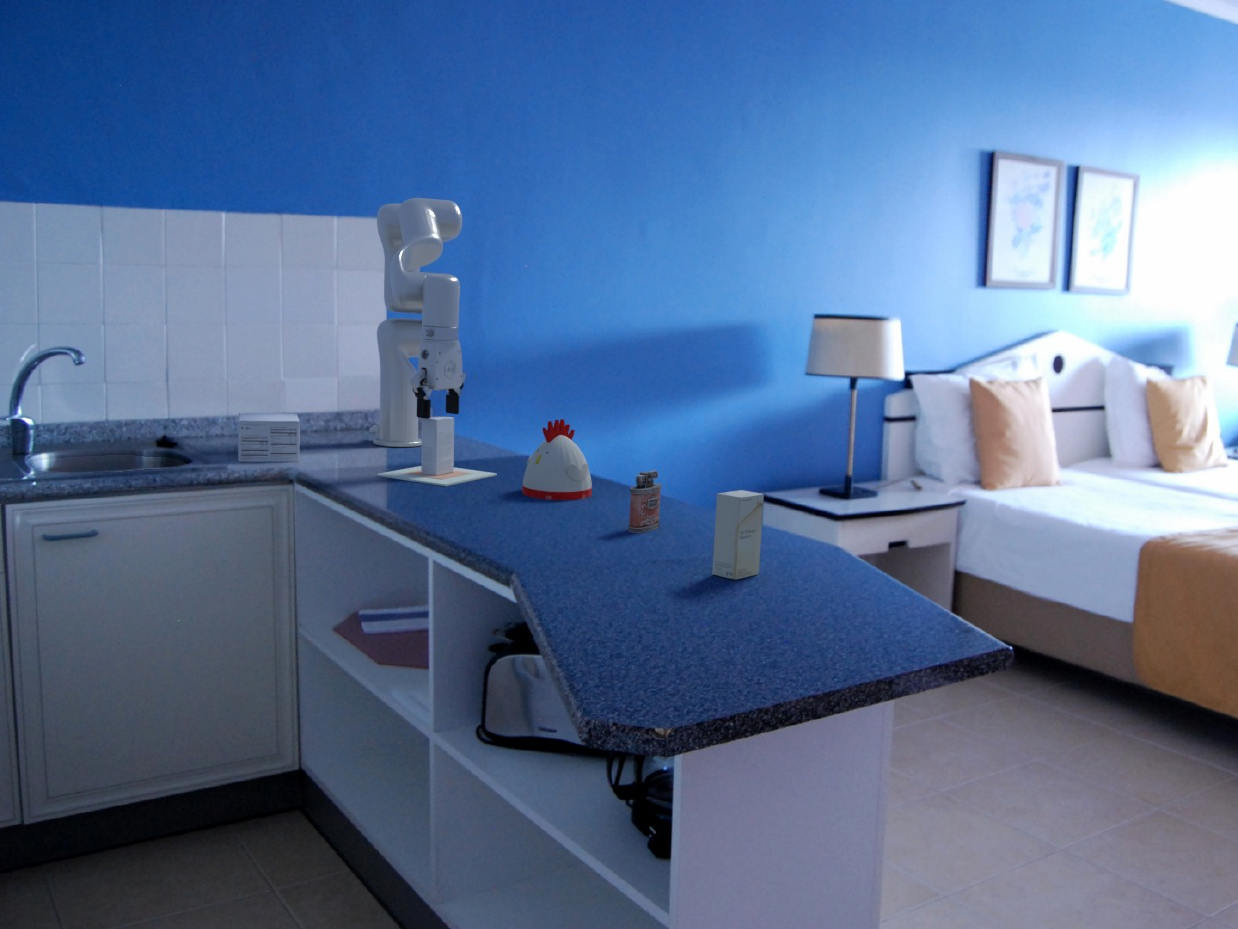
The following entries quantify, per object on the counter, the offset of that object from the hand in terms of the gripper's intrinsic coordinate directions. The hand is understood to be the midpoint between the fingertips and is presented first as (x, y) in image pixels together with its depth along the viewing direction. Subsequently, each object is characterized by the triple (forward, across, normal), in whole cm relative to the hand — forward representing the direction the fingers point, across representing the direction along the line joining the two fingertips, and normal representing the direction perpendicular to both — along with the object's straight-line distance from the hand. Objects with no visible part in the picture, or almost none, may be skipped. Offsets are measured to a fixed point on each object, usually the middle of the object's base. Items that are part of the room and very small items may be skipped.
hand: (438, 415), depth 228 cm
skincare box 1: (+12, -1, -1) cm, 13 cm away
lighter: (+11, -19, -60) cm, 64 cm away
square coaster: (+13, -1, -1) cm, 13 cm away
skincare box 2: (+10, -38, -85) cm, 93 cm away
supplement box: (+14, -6, +43) cm, 46 cm away
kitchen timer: (+12, -1, -31) cm, 33 cm away
